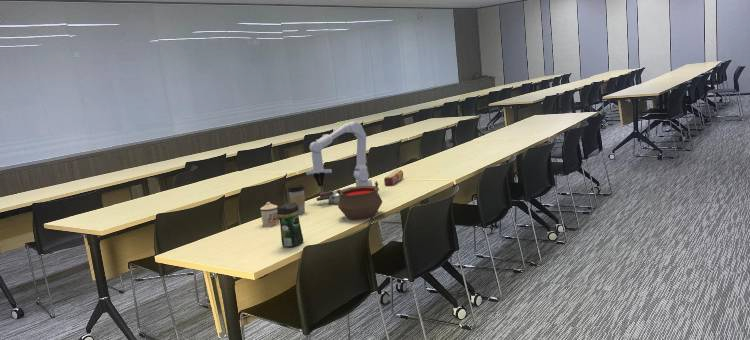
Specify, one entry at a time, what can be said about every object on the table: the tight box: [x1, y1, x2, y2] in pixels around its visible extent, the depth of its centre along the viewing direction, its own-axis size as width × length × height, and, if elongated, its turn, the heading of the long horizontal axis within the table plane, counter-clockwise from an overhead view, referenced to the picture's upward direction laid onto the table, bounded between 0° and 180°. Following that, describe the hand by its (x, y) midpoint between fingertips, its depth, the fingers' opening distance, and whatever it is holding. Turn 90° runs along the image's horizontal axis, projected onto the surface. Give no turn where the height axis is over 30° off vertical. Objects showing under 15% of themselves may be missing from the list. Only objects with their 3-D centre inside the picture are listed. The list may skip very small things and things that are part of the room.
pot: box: [315, 196, 340, 206], centre depth 329 cm, size 22×13×4 cm, turn 103°
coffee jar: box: [277, 202, 304, 248], centre depth 253 cm, size 10×8×19 cm
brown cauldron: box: [337, 180, 383, 221], centre depth 290 cm, size 24×24×16 cm
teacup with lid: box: [259, 201, 280, 228], centre depth 296 cm, size 12×9×12 cm
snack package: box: [383, 169, 404, 187], centre depth 368 cm, size 21×7×7 cm, turn 159°
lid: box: [318, 189, 340, 198], centre depth 327 cm, size 20×14×4 cm
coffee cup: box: [287, 184, 306, 216], centre depth 312 cm, size 9×9×15 cm
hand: (320, 186), depth 330 cm, fingers closed
